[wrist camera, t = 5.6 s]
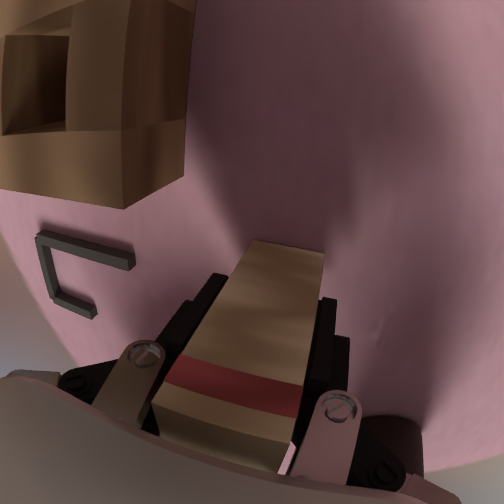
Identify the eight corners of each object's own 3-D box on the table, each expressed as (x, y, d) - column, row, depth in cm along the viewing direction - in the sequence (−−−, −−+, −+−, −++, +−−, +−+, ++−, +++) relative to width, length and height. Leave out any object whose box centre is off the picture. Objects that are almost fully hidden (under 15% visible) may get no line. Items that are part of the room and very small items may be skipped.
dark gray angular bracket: (134, 254, 16) (127, 260, 16) (144, 331, 19) (139, 338, 18) (40, 228, 18) (33, 233, 17) (56, 296, 21) (51, 301, 20)
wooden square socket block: (201, -36, 9) (146, -75, 5) (183, 176, 14) (123, 209, 10) (48, 7, 11) (-12, 4, 7) (42, 163, 15) (-15, 186, 12)
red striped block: (325, 253, 13) (291, 443, 6) (312, 312, 15) (271, 488, 7) (252, 239, 14) (150, 401, 6) (247, 298, 16) (167, 456, 8)
